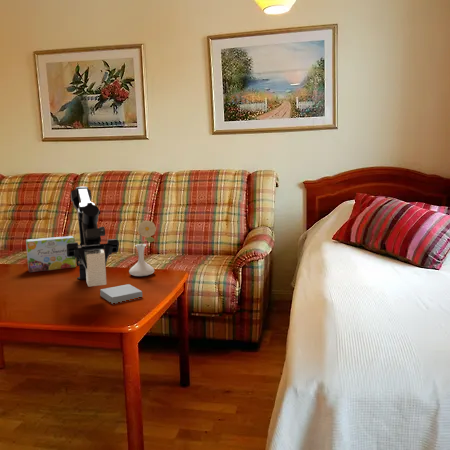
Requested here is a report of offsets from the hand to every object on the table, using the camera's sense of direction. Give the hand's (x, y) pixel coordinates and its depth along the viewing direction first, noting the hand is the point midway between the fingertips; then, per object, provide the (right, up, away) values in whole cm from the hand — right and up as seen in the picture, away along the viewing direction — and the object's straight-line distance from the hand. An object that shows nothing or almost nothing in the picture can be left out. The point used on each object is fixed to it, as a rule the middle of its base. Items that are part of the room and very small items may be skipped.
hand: (95, 266), depth 162 cm
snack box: (-36, -6, +51) cm, 63 cm away
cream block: (0, -6, +2) cm, 7 cm away
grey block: (+7, -13, +8) cm, 17 cm away
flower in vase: (+11, -7, +38) cm, 40 cm away
